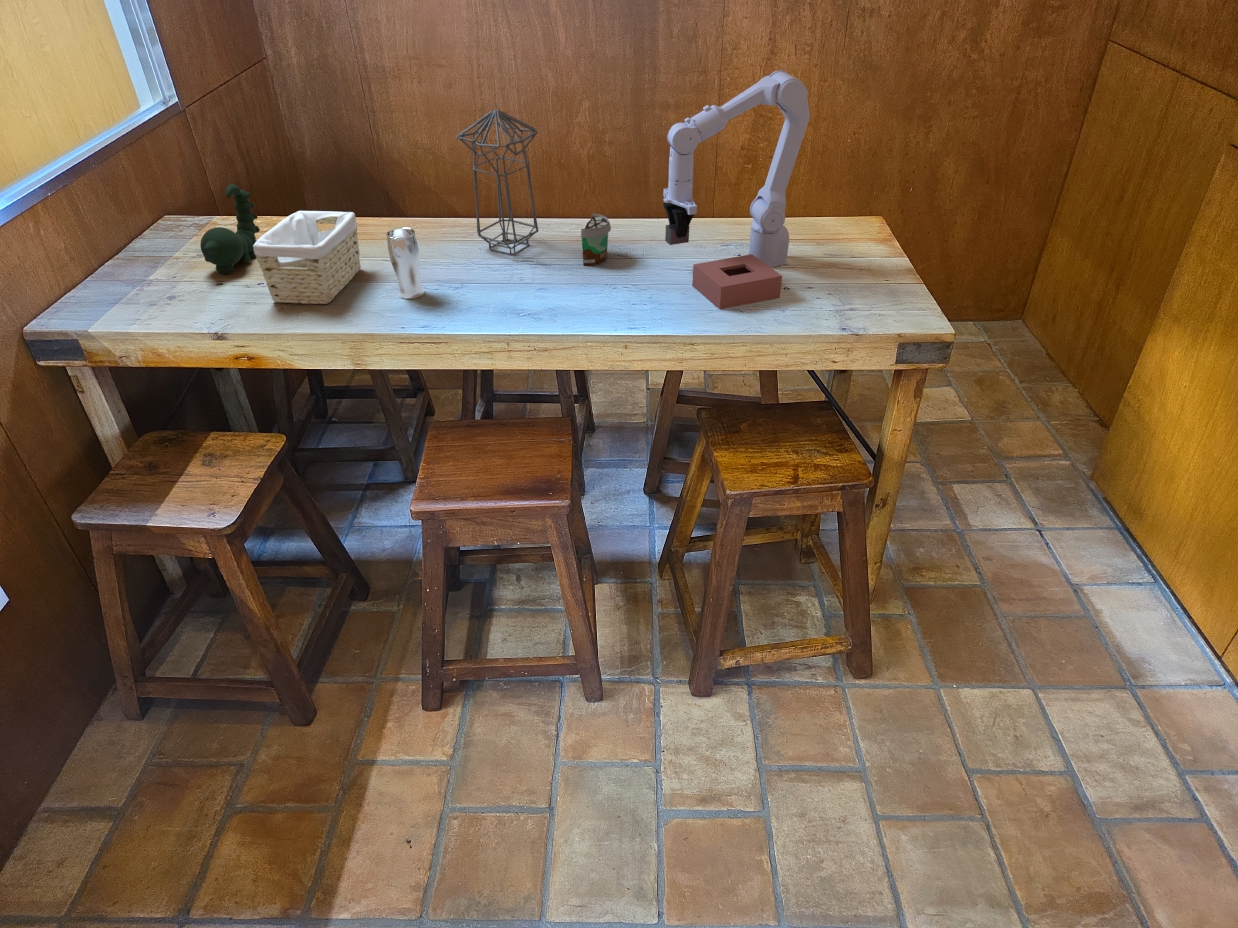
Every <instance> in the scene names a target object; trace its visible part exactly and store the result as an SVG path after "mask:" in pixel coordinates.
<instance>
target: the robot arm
mask: <svg viewBox="0 0 1238 928" xmlns="http://www.w3.org/2000/svg"><path fill="white" fill-rule="evenodd" d="M808 95H809V91H808V89H807V88H806V86H805V85H804V83H803V82H802V80H800V79H799V78H797V77H794V76H793V75H791V74H789V73H788V72H787V71H785V70H781V69H780V70H776V71H774V72H771V74H769V75H765V76H764V77H762V78H761V79H760V80H758V81H757V82H756V83H755V84H753V85H751V86H750V87H748V88H746V90H744V91H742V92H741V93H739V94H738V95H736V96H735V97H733V98H732V99H730V100H729V101H727V102H726V103H724V104H722V105H721V106H719V105H715V104H712V105H710V106H709V105H708V104H707V105H705V106H703V108H702V109H703V110H702V111H700V112H698V113H696V114H695V115H694V116H692V117H690V118H689V117H686V118H685V119H684V122H677V123H675V124H673V125H672V126H671V127H670V129H669V130H668V133H667V135H666V140H667V142H668V144H669V145H670V146H669V159H668V180H667V181H668V186H667V187H665V188H663V190H662V191H663V197H664V198H663V203H662V206H663V208H664V210H665V213H666V215H667V219H668V225H670V224H676V233H677V237H678V238H681V237H686V234H687V231H688V227H689V228H690V223H691V222H692V219H693V218H694V216H695V215H697V213H698V212H697V211H698V205H697V204H696V203H695V201H694V198H693V178H694V152H695V150H696V149H697V148H698V145H699V144H700V143H702V142H704V141H706V140H708V139H709V138H711V137H712V136H714V135H716V134H718V133H719V132H721V131H723V130H724V129H725V128H726V125H727V123H728V121H730V120H732V119H733V118H736V117H737V116H739V115H742V114H743V113H745V112H747V111H748V110H751V109H752V108H754V107H756V106H758V105H766V106H770V107H771V106H772V107H775V106H776V105H777V106H778V108H779V110H780V112H781V113H782V115H783V117H784V123H783V124H782V125H783V126H782V128H781V130H780V135H779V138H778V141H777V144H776V147H775V149H774V150H775V151H774V153H773V156H772V160H771V163H770V167H769V169H768V173H767V177H766V179H765V183H764V185H763V186H762V187H761V188H760V189H759V190H758V193H757V195H756V197H755V198H754V199H753V201H752V202H751V204H750V207H749V214H750V216H751V218H752V219H753V220H752V223H751V227H750V235H749V236H750V237H749V244H748V254H747V255H750V254H752V255H754V256H755V257H757V258H758V259H759V260H761V261H762V262H764V263H765V264H767V265H768V266H769V267H771V268H774V267H778V266H784V265H788V264H789V261H788V259H787V258H788V252H789V245H790V233H789V230H788V229H787V227H786V226H785V225H784V224H785V221H786V212H785V211H786V208H787V200H786V199H787V198H786V191H787V188H788V184H789V183H790V179H791V175H792V173H793V170H794V167H795V165H796V160H797V157H798V154H799V151H800V148H801V146H802V143H803V140H804V136H805V134H806V130H807V127H808V124H809V122H810V118H811V117H810V116H811V113H810V107H809V100H808Z"/></svg>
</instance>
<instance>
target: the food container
mask: <svg viewBox="0 0 1238 928" xmlns="http://www.w3.org/2000/svg"><path fill="white" fill-rule="evenodd" d="M580 230H581V231H580V238H581V246H582V262H583V266H584V267H585V266H586V267H591V266H592V267H593V266H598V265H601V264H603V263H605V262H606V261H607V257H608V243H609V240H608V239H609V233H610V232H611V230H612V227H611V224H610V221H609V218H608V217H607V216H605V215H603V214H599V213H591V217H590V219H589V220H588V221H587V223H586V225H585V227H584V228H581V229H580Z"/></svg>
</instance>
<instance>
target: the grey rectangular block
mask: <svg viewBox="0 0 1238 928" xmlns="http://www.w3.org/2000/svg"><path fill="white" fill-rule="evenodd" d="M664 241H665V242H666V243H667V244H668V245H669V246H675V245H679V244H685V243H689V242H690V226H689V227H688V231H687V234H686V237H681V238H678V237H677V233H676V224H670V225H669V224H666V225H665V238H664Z"/></svg>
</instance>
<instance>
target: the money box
mask: <svg viewBox="0 0 1238 928" xmlns="http://www.w3.org/2000/svg"><path fill="white" fill-rule="evenodd" d="M782 281H783V275H782V274H781V273H780V272H778V271H776V270H775V269H773V267H769V266H768V265H767V264H765V263H764V262H762V261H761V260H759V259H758V258H757V257H755V256H754V255H752V254H750V255H748V254H745V255H740V256H733V257H728V258H723V259H716V260H711V261H706V262H700V263H699V262H698V263H694V264H693V267H692V285H691V286H692V287H693V288H694V289H695V290H696V291H698V292H699V293H700V294H701V295H702V296H703V297H704V298H706V299H707V300H708V301H709V302H710V303H712V304H713V306H715V307H716V308H717V309H718V310H722V309H729V308H733V307H734V308H735V307H738V306H739V307H740V306H744V305H749V304H754V303H760V302H765V301H770V300H774V299H779V298H780V296H781V289H782Z"/></svg>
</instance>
